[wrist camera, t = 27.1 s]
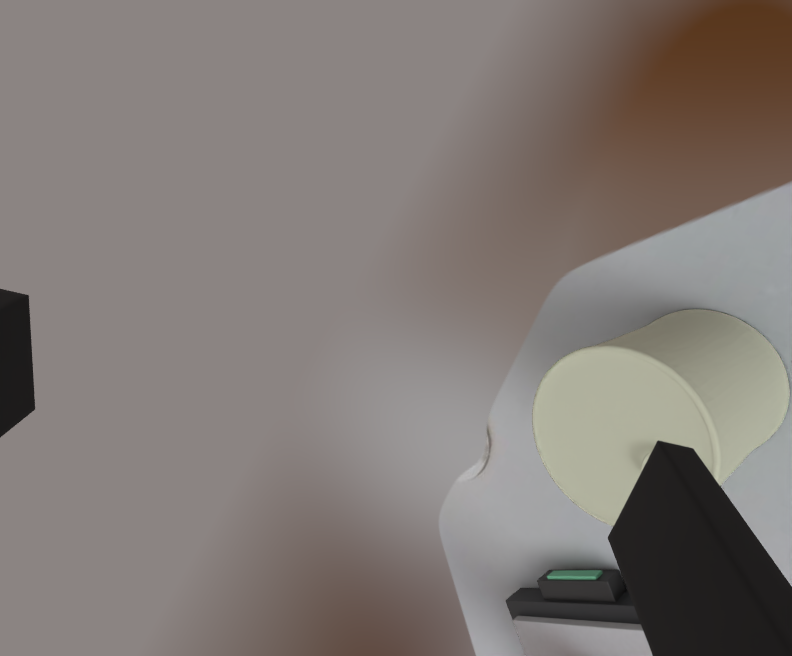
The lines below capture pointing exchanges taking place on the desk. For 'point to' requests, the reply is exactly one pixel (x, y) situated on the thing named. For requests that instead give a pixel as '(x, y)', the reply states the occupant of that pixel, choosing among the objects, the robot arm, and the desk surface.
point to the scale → (578, 616)
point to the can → (657, 404)
